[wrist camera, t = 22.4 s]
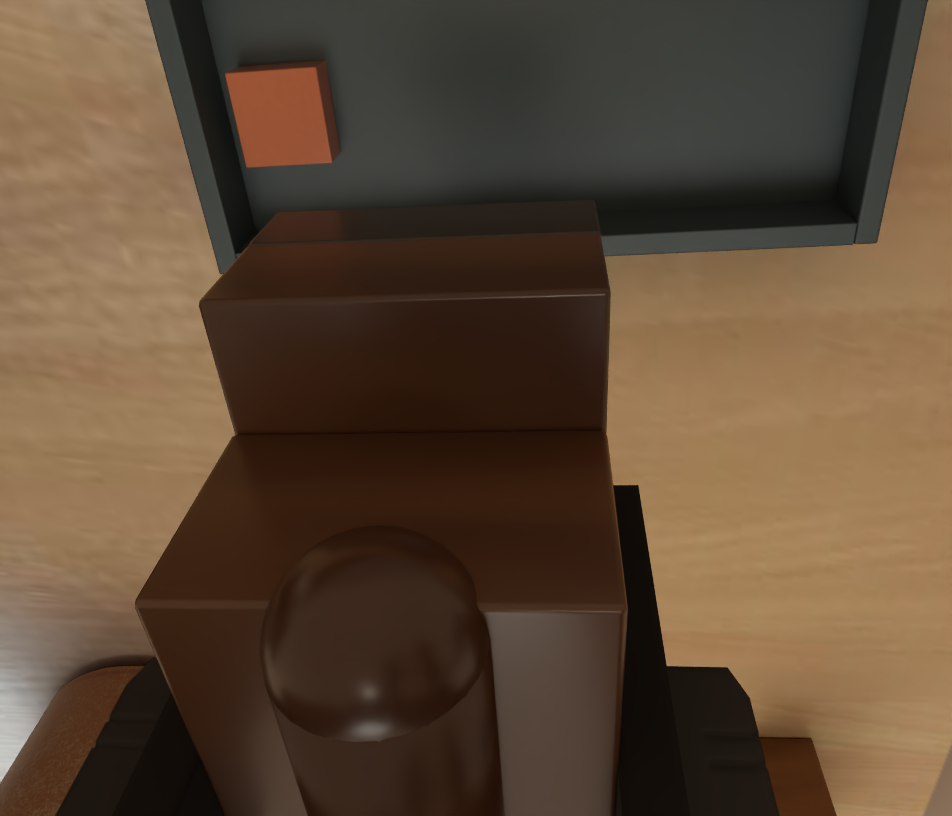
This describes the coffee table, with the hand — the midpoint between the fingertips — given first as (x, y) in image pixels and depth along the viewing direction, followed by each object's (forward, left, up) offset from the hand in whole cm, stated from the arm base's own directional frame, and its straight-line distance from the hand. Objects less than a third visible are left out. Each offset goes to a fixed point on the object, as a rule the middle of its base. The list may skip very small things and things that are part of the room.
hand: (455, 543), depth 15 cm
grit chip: (+5, -7, -18) cm, 20 cm away
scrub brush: (0, 0, -1) cm, 1 cm away
